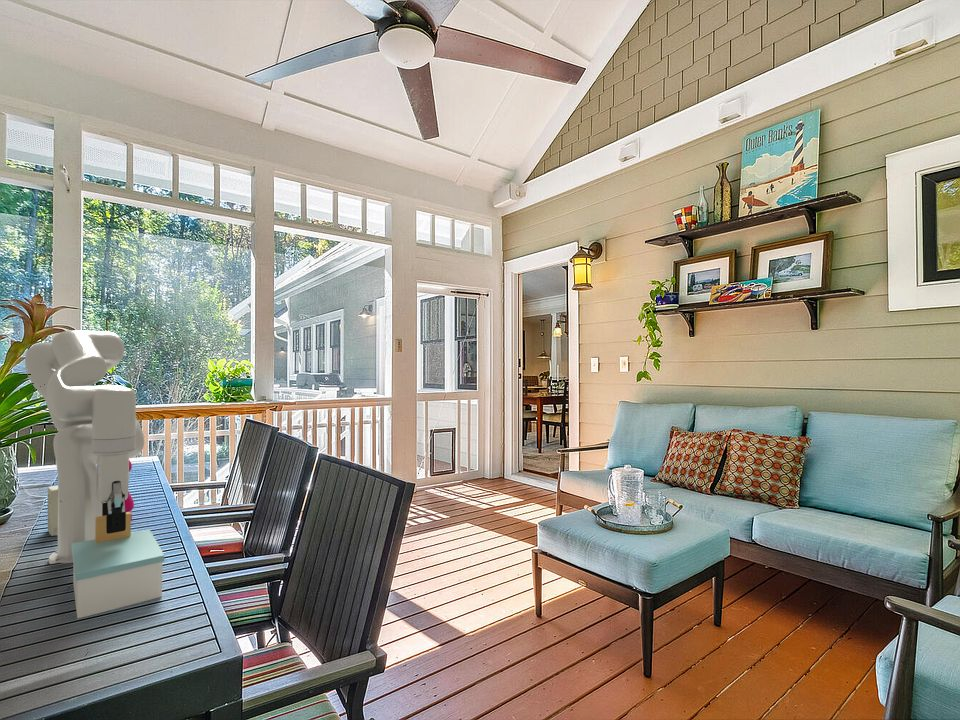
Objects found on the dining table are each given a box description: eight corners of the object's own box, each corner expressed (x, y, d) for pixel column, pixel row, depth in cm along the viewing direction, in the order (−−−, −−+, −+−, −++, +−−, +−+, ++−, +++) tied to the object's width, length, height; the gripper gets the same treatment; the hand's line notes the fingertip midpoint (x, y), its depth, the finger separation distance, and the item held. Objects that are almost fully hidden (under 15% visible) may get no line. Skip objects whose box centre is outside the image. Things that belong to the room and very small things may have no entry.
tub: (73, 587, 104) (73, 549, 104) (147, 570, 112) (148, 535, 112) (77, 624, 90) (77, 579, 90) (161, 601, 99) (162, 561, 99)
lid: (71, 556, 104) (71, 519, 104) (149, 541, 113) (149, 507, 112) (75, 589, 90) (76, 546, 90) (164, 568, 99) (164, 530, 98)
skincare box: (72, 532, 135) (72, 487, 134) (51, 537, 131) (51, 490, 131) (67, 527, 139) (67, 483, 139) (46, 531, 136) (47, 486, 136)
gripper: (89, 442, 111) (88, 519, 111) (95, 453, 98) (94, 541, 98) (130, 438, 116) (129, 512, 116) (141, 449, 102) (140, 532, 103)
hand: (113, 525), depth 107 cm, fingers open, 9 cm apart
